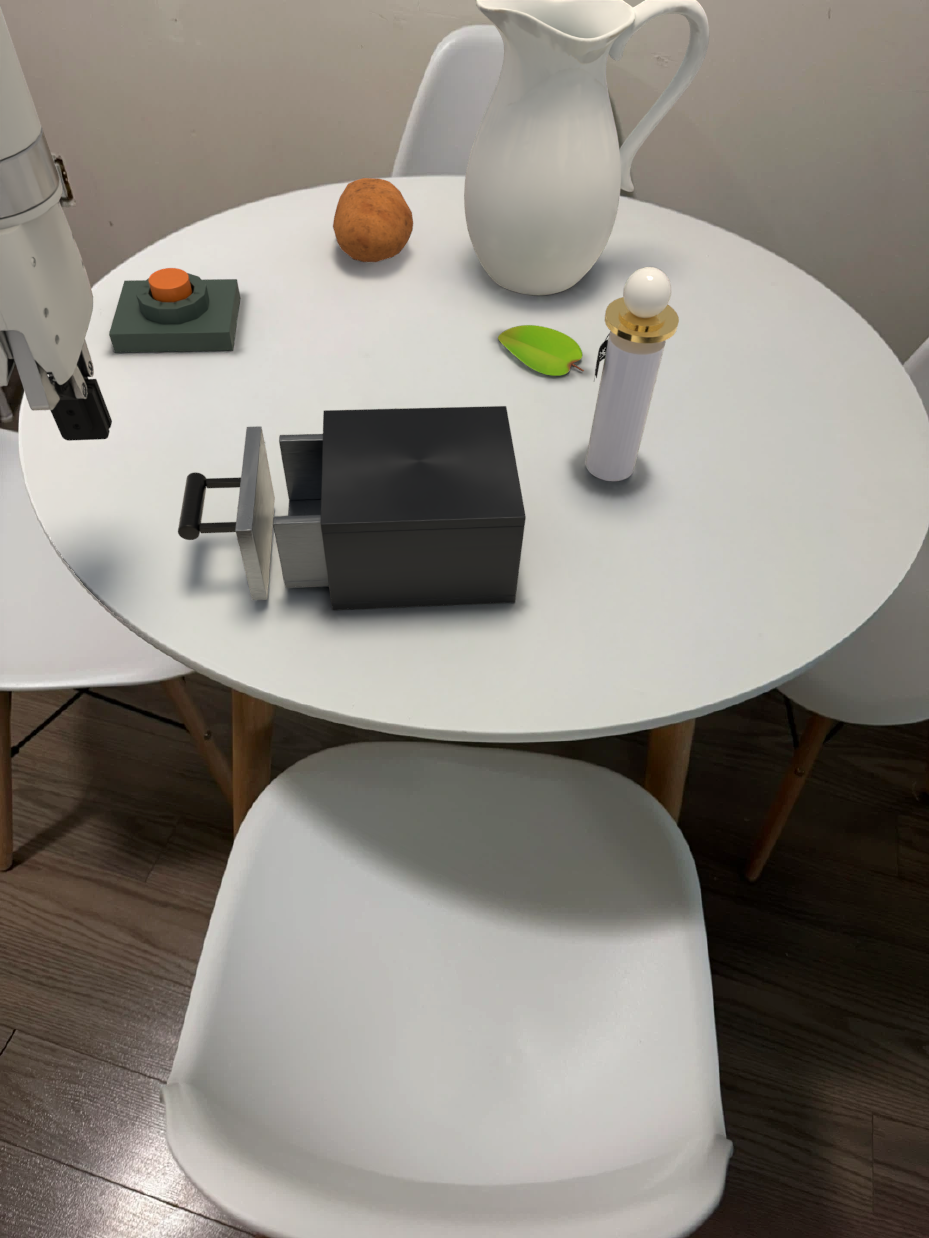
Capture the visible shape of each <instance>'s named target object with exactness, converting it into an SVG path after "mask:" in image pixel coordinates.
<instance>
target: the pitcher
mask: <svg viewBox="0 0 929 1238" xmlns="http://www.w3.org/2000/svg"><path fill="white" fill-rule="evenodd" d="M475 6H476V7H477V9H478V10H479V12H481V13H482V14H483V16H485V17H486V18H487V19H488V20H489V21H490V22H491V24H492V25H493V26H494V27H495V29H496V30H497V31H498V33H499V35H500V37H501V40H502V43H503V44H502V45H503V59H502V65H501V70H500V72H499V75H498V79H497V80H496V81H497V82H496V84H495V87H494V89H493V91H492V94H491V95H490V96H491V97H490V99H489V101H488V104H487V106H486V108H485V111H484V113H483V115H482V118H481V120H480V122H479V125H478V128H477V131H476V134H475V136H474V139H473V143H472V146H471V149H470V152H469V157H468V159H467V165H466V171H465V177H464V191H463V201H464V203H463V204H464V216H465V222H466V227H467V232H468V236H469V239H470V242H471V245H472V247H473V250H474V252H475V255H476V257H477V259H478V260H479V263H480V265H481V266H482V268H483V269H484V271H485V272H486V274H487V275H488V276H489V278H491V280H492V281H493V282H494V283H496V284H497V285H498V286H500V287H501V288H504V289H506V290H508V291H510V292H515V293H518V294H522V295H528V296H546V295H554V294H557V293H558V294H559V293H561V292H563V291H566V290H568V289H570V288H572V287H574V286H575V285H576V284H578V283H579V282H580V281H581V280H582V279H583V277H585V276H586V274H588V272H589V271H590V270H592V267H594V265H595V263H596V262H597V261H598V260H599V258H600V257H601V255H602V254H603V252H604V250H605V248H606V247H607V245H608V242H609V239H610V238H611V236H612V232H613V229H614V226H615V222H616V219H617V214H618V211H619V204H620V198H621V190H622V191H625V192H629V193H631V192H634V191H635V186H634V183H633V181H632V177H631V170H632V169H631V167H632V163H633V161H634V158H635V156H636V155H637V153H638V151H639V150H640V148H641V147H642V146H643V145H644V143H645V142H646V140H647V139H648V138H649V137H650V136H651V134H652V133H653V132H654V130H655V129H656V128H657V126H658V125H659V124H660V123H661V122H662V121H663V119H664V118H665V117H667V114H668V113H669V112H670V111H671V110H672V109H673V107H674V106H675V105H676V104H677V102H679V100H680V98H681V97H683V95H684V93H686V91H687V89H688V88H689V87H690V86H691V84H692V83H693V81H694V80H695V78H696V77H697V76H698V74H699V72H700V70H701V68H702V65H703V63H704V61H705V58H706V55H707V52H708V48H709V45H710V24H709V20H708V16H707V12H705V9H704V8H703V6H702V5H701V4H700V2H699V1H698V0H643V1H641V2H639V3H638V4H637V5H635V6H632V5H631V4H629V3H627V2H626V1H624V0H475ZM666 15H680V16H683V17H684V18H685V19H686V20H687V22H688V24H689V38H688V44H687V47H686V51H685V53H684V56H683V59H682V61H681V63H680V65H679V67H678V69H677V71H676V72H675V74H674V76H673V77H672V79H671V81H670V82H669V83H668V85H667V86H666V87H665V89H664V90H663V91H662V93H661V94H660V96H659V97H658V98H657V100H656V101H655V102H654V103H653V104H652V106H651V107H650V108H649V110H648V111H647V112H646V113H645V115H644V116H643V117H642V118H641V120H640V121H639V122H638V123H637V125H635V127H634V129H633V130H632V131H631V132H630V133H629V134H628V136H627V137H626V138H625V140H624V141H623V143H622V144H621V146H620V143H619V137H618V136H619V135H618V131H617V125H616V121H615V117H614V113H613V108H612V103H611V99H610V94H609V89H608V83H607V82H608V81H607V64H608V58H609V57H610V58H611V59H612V60H614V61H617V62H620V61H621V60H622V58H623V56H624V52H625V48H626V46H627V44H628V42H629V41H630V39H631V38H632V37H633V36H634V35H635V34H636V33H637V32H638V31H639V30H640V29H642V28H643V27H644V26H646V25H647V24H649V23H650V22H652V21H654V20H656V19H658V18H660V17H663V16H666Z"/></svg>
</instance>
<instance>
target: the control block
mask: <svg viewBox="0 0 929 1238" xmlns="http://www.w3.org/2000/svg"><path fill="white" fill-rule="evenodd" d="M186 273H187V274H188V276H189V280H190V284H191V289H192V294H191V295H190V296H189V297H187V298H186V299H183V300H180V301H177V302H160V301H157V300H155V299H154V298H153V296H152V292H151V289H150V285H149V277H147V279H140V280H139V279H138V280H137V279H136V280H135V279H133V280H132V279H131V280H130V279H129V280H124V281H123V285H122V288H121V291H120V295H119V298H118V301H117V304H116V308H115V312H114V315H113V319H112V322H111V325H110V329H109V333H108V336H109V339H110V342H111V345H112V348H113V352H114V353H117V354H119V353H121V354H122V353H166V352H167V353H168V352H169V353H171V352H173V353H174V352H217V351H218V352H221V351H224V352H225V351H234V346H235V338H236V332H237V324H238V317H239V309H240V303H241V292H240V288H239V282H238V279H237V278H223V279H221V278H217V279H211V278H209V279H208V278H207V279H202V278H201V277H200V276H198V275H196V274H192V273H189V272H186Z"/></svg>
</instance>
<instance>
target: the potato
mask: <svg viewBox="0 0 929 1238" xmlns="http://www.w3.org/2000/svg"><path fill="white" fill-rule="evenodd" d="M332 229H333V232H334V236H335V240H336V243H337V245H338V246H339V248H340V250H341V251H342V252H344V254H346V255H347V256H348V257H349V258H351V259H352V260H354V261H357V262H358V261H359V262H361V263H378V262H381V261H384V260H385V261H386V260H389V259H391V258H394V257H395V256H396V255H399V254H400V253H401V252H402V250H403V249H404V248H405V247H406V246H407V244H408V242H409V240H410V237H411V235H412V233H413V229H414V218H413V212H412V210H411V208H410V206H409V204H408V203H407V201H406V199H405V197H404V196H403V194H402V192H401V190H400V189H398V188H397V187H396V186H395V184H393V183H392V182H390V181H389V180H386V179H383V178H376V177H375V178H373V177H371V178H370V177H362V178H359V179H356V180H353V181H351V182H349V183H347V185H346V186H345V188H344V189H343V191H342V192H341V194H340V195H339V198H338V202H337V204H336V209H335V212H334V216H333V222H332Z"/></svg>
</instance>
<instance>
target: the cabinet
mask: <svg viewBox="0 0 929 1238" xmlns="http://www.w3.org/2000/svg"><path fill="white" fill-rule="evenodd" d="M322 417H323V419H322V434H323V450H322V487H321V532H322V539H323V546H324V554H325V561H326V569H327V576H328V584H329V586H328V590H329V597H330V605H331V611H346V610H370V609H371V610H373V609H394V608H395V609H396V608H397V609H398V608H419V607H420V608H421V607H439V606H440V607H441V606H464V605H466V606H467V605H490V604H512V603H513V604H514V603H516V598H517V590H518V581H519V573H520V566H521V559H522V549H523V541H524V535H525V533H524V532H525V525H526V519H527V516H526V510H525V504H524V499H523V493H522V488H521V483H520V478H519V477H520V476H519V471H518V466H517V465H518V464H517V459H516V454H515V448H514V442H513V436H512V431H511V425H510V419H509V415H508V409H507V406H506V405H494V406H493V405H491V406H451V407H449V406H448V407H446V406H445V407H417V408H416V407H411V408H409V407H407V408H370V409H365V408H364V409H329V410H323V414H322Z"/></svg>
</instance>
